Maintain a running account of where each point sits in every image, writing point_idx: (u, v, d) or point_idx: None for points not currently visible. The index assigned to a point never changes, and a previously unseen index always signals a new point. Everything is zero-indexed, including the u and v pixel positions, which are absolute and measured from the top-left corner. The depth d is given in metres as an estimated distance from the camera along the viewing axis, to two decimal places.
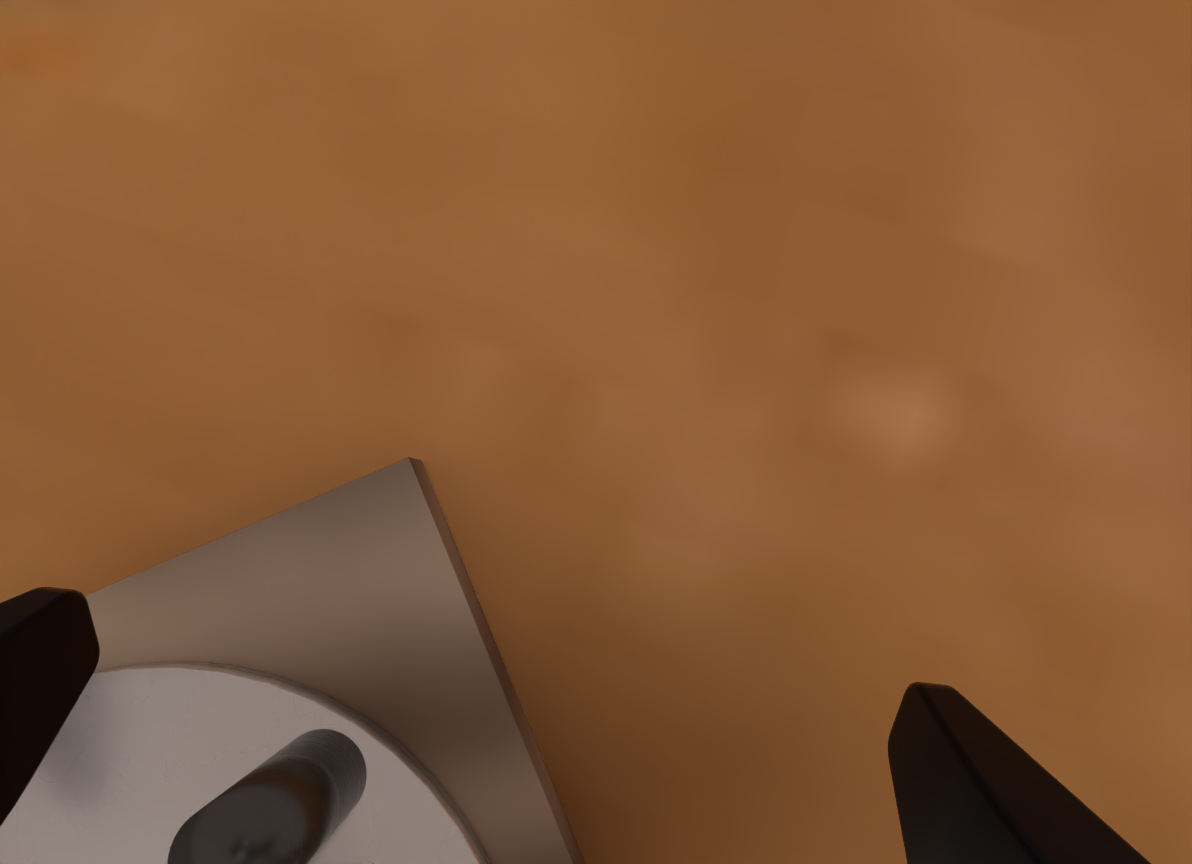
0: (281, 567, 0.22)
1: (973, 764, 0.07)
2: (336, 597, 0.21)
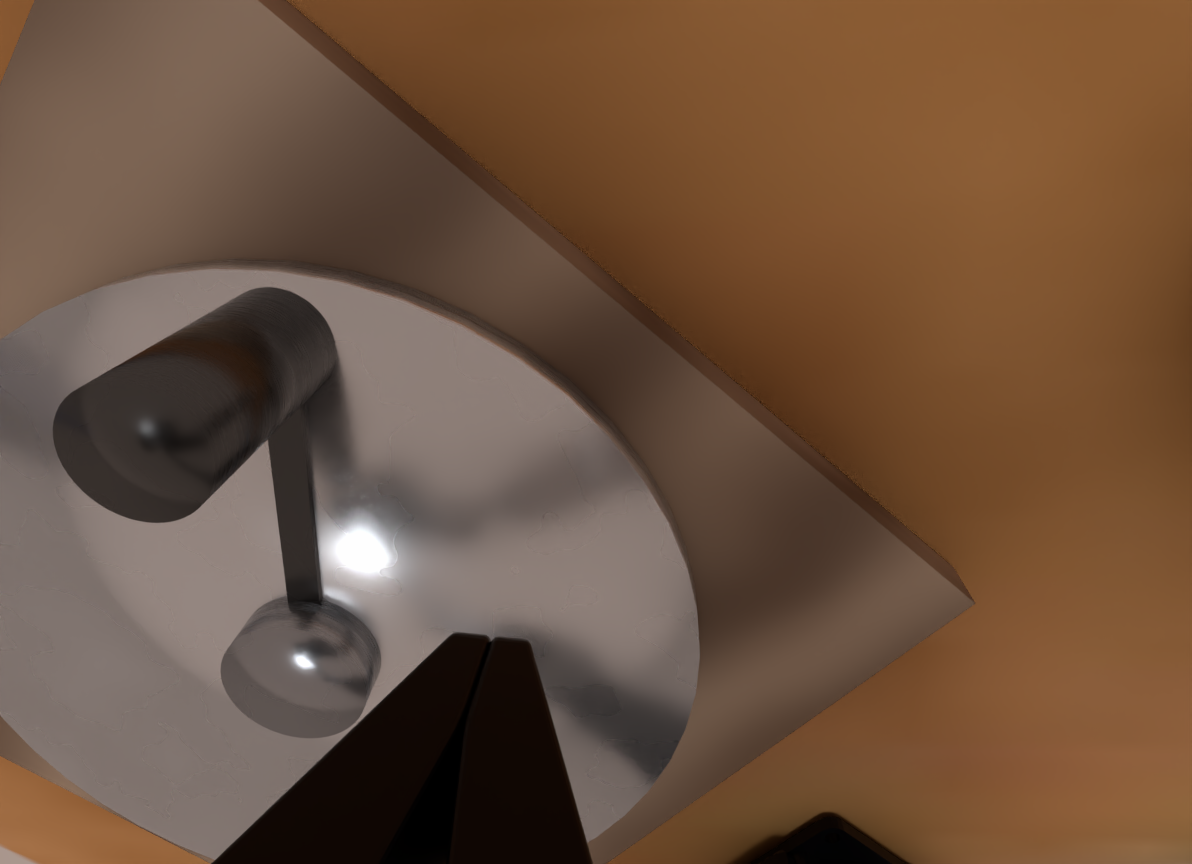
0: (72, 133, 0.15)
1: (478, 709, 0.07)
2: (161, 135, 0.15)
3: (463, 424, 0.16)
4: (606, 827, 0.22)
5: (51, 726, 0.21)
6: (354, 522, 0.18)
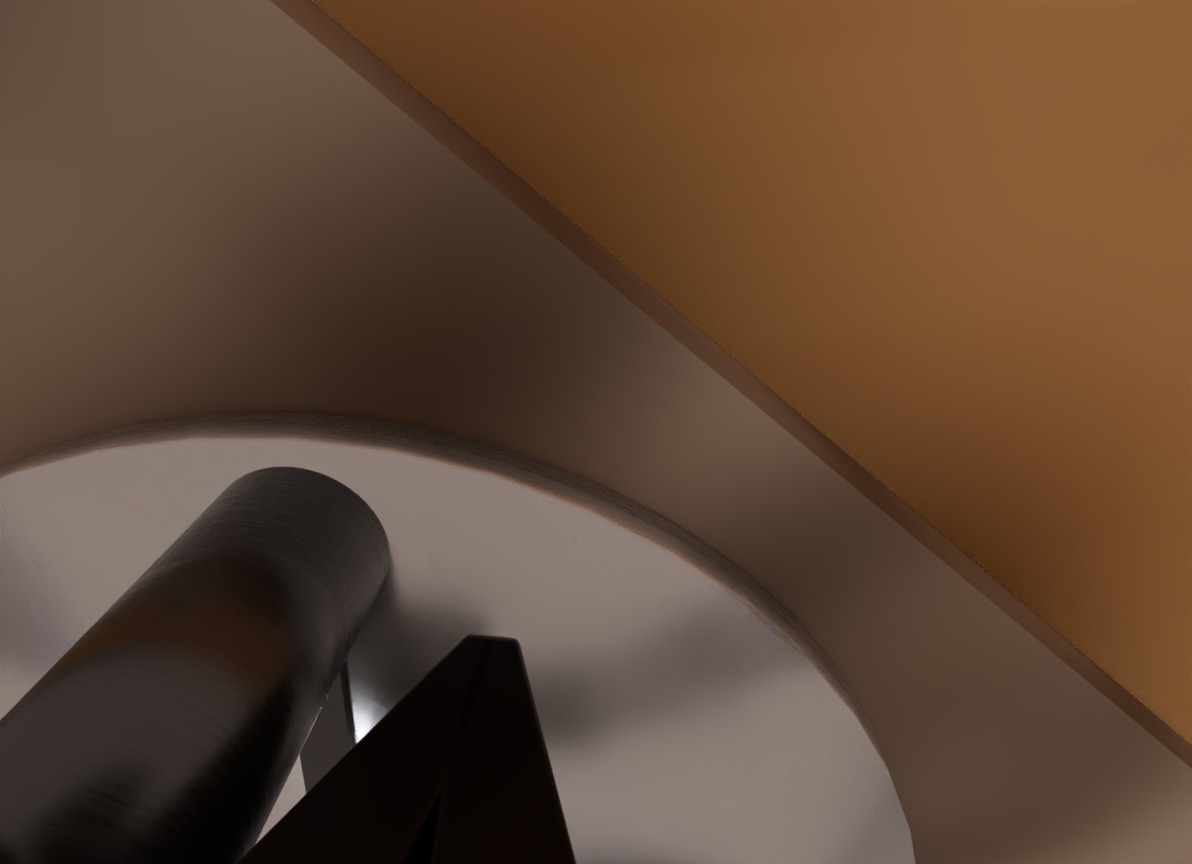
0: None
1: (464, 708, 0.07)
2: (128, 230, 0.09)
3: (585, 649, 0.11)
4: None
5: None
6: None
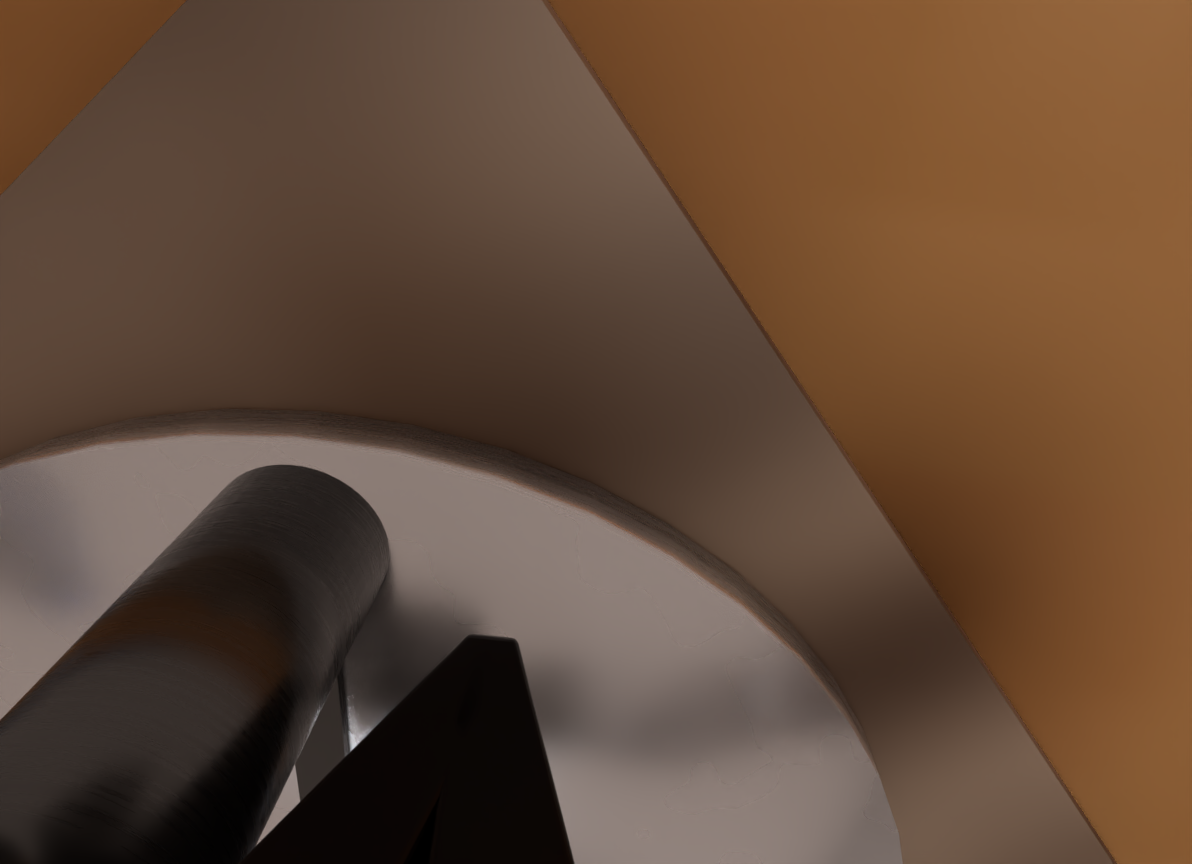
0: (207, 189, 0.09)
1: (463, 707, 0.07)
2: (356, 229, 0.09)
3: (581, 651, 0.11)
4: None
5: None
6: None
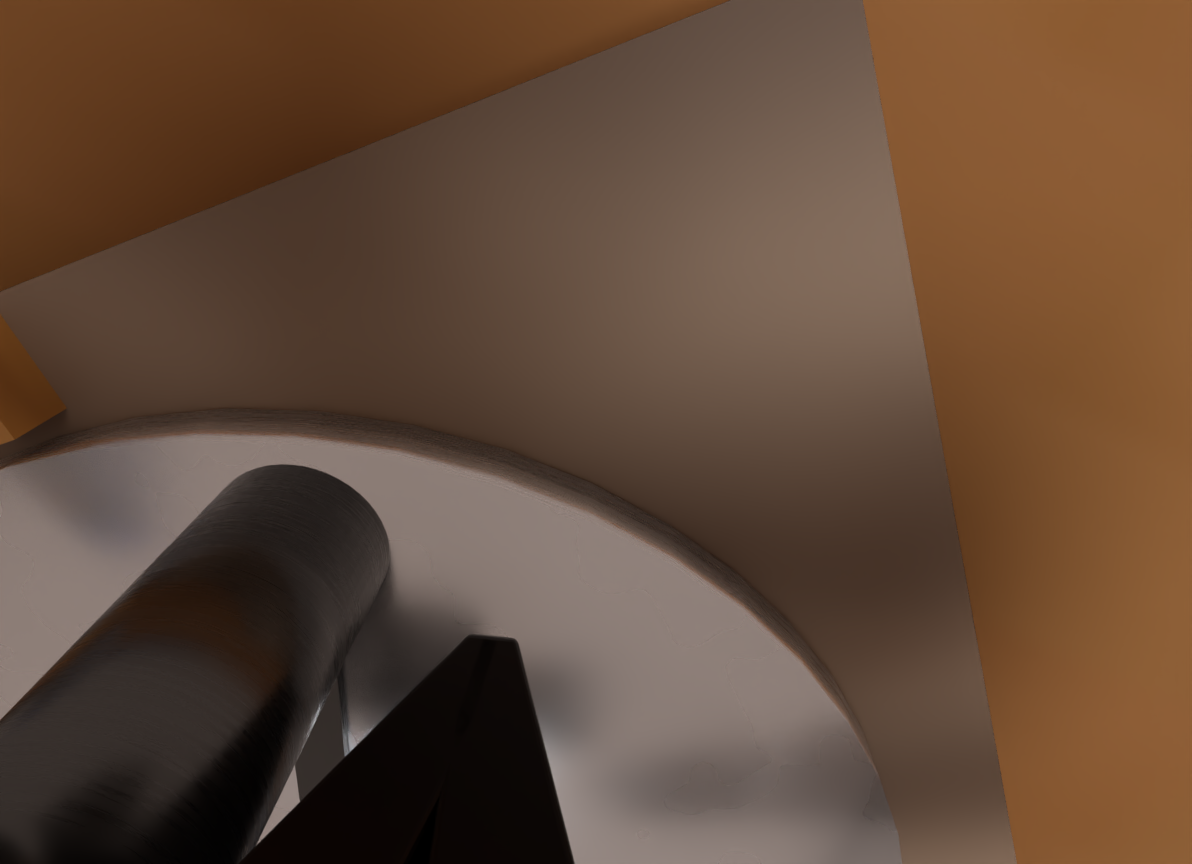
0: (508, 232, 0.09)
1: (463, 707, 0.07)
2: (634, 308, 0.10)
3: (582, 652, 0.11)
4: None
5: None
6: None
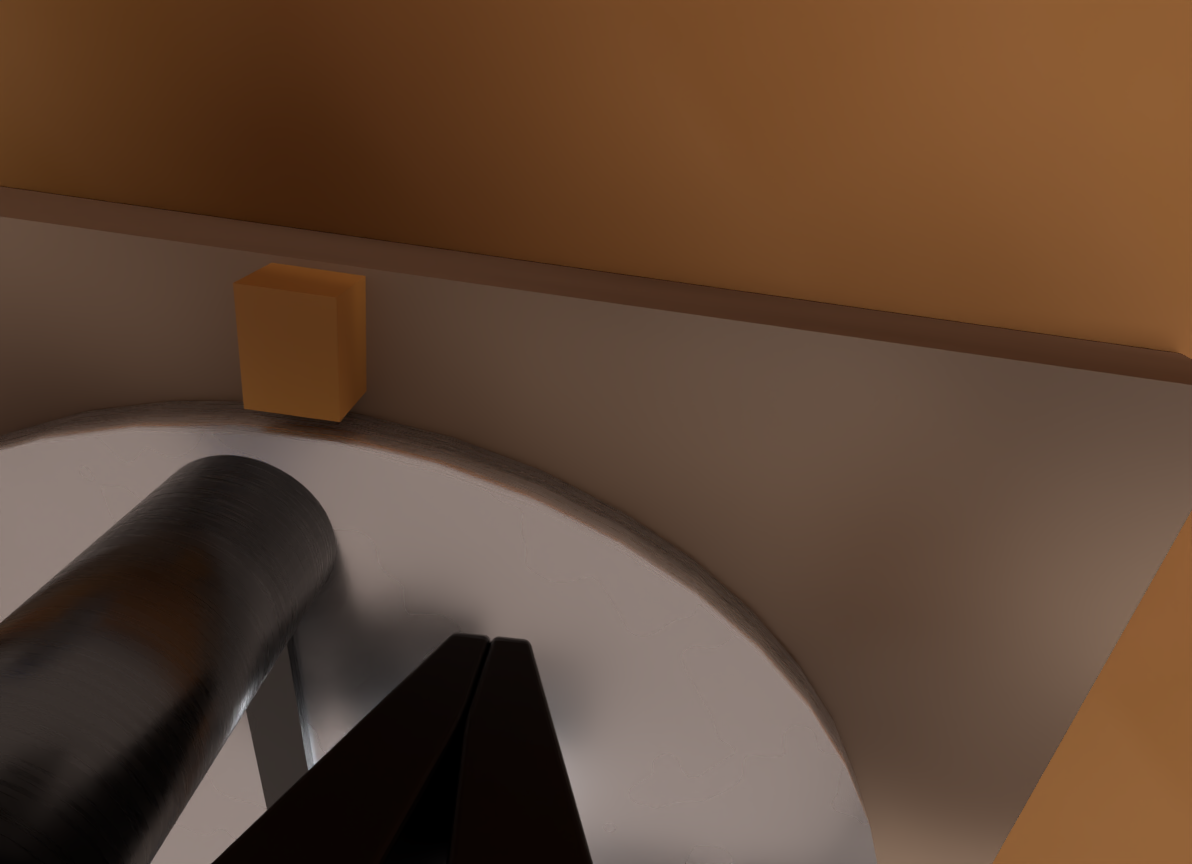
0: (868, 447, 0.10)
1: (478, 709, 0.07)
2: (919, 546, 0.11)
3: (534, 640, 0.11)
4: None
5: None
6: None
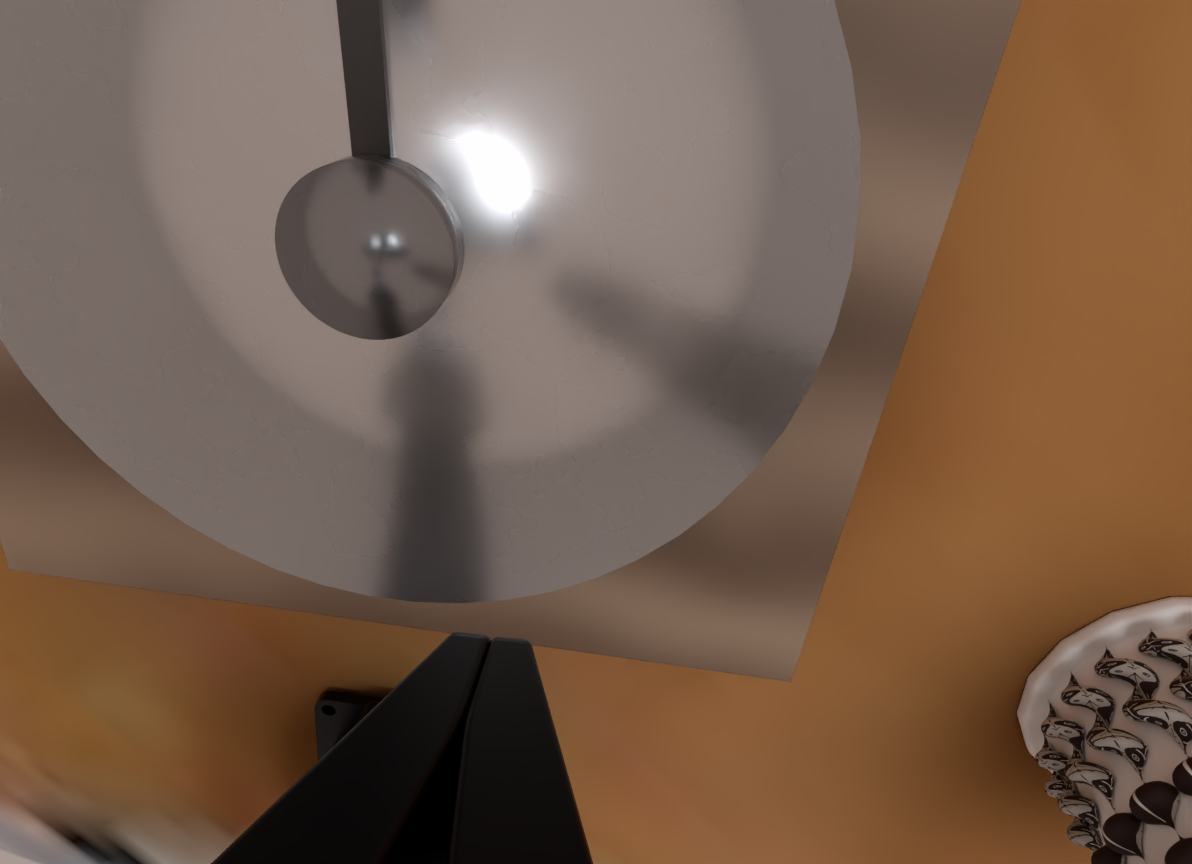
0: None
1: (478, 709, 0.07)
2: None
3: None
4: (730, 490, 0.18)
5: (80, 382, 0.18)
6: (432, 23, 0.14)
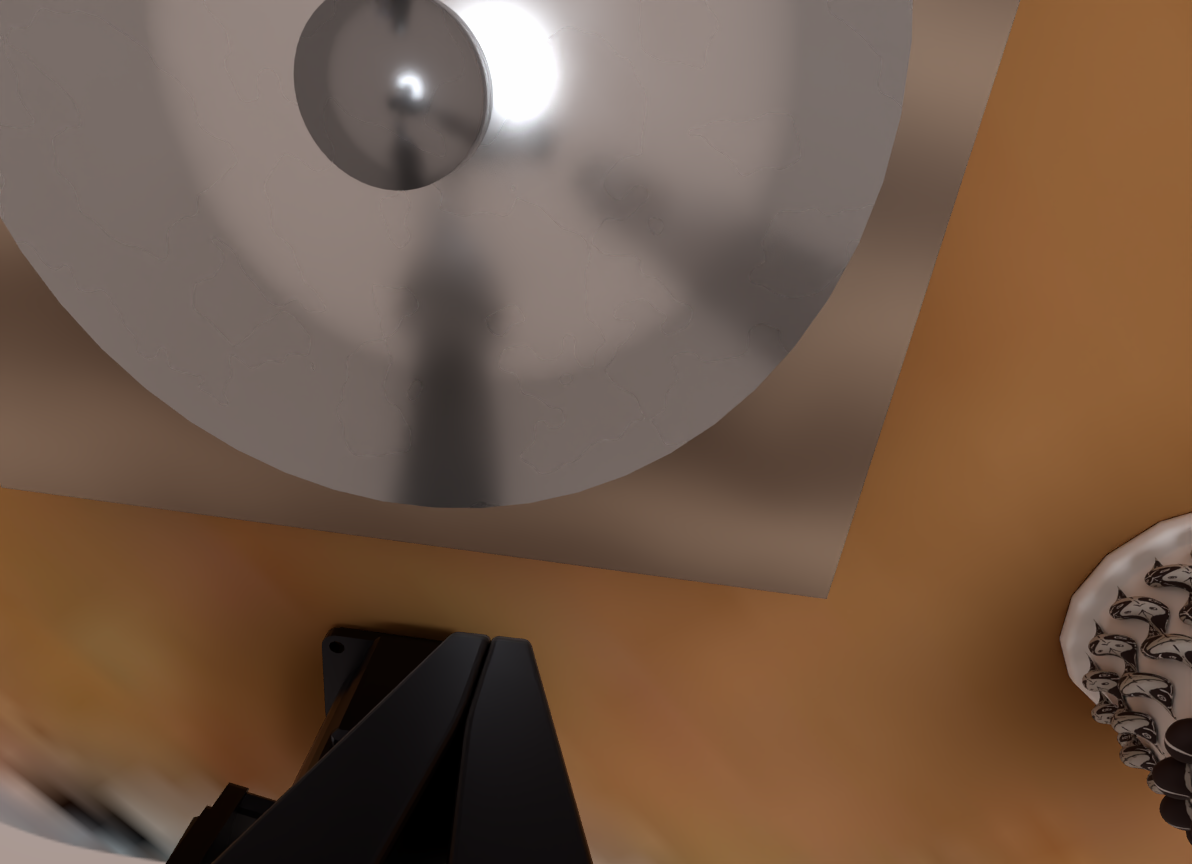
0: None
1: (478, 709, 0.07)
2: None
3: None
4: (769, 370, 0.18)
5: (81, 260, 0.17)
6: None
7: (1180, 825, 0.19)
